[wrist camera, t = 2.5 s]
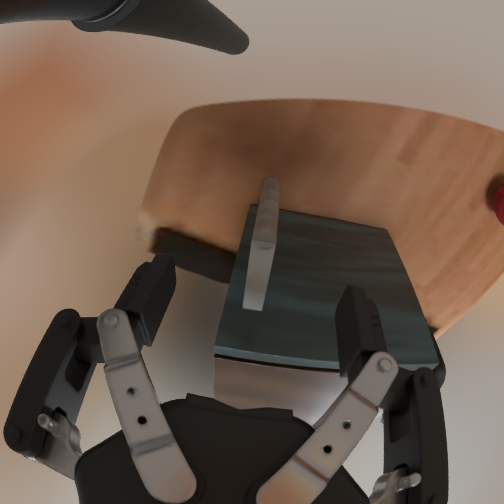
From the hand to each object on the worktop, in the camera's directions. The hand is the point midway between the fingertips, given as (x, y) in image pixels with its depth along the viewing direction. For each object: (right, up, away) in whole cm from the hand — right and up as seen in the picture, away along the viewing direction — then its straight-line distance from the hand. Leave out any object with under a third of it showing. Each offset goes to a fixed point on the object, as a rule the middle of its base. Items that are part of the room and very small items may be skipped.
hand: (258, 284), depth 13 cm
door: (+8, +8, +17) cm, 20 cm away
